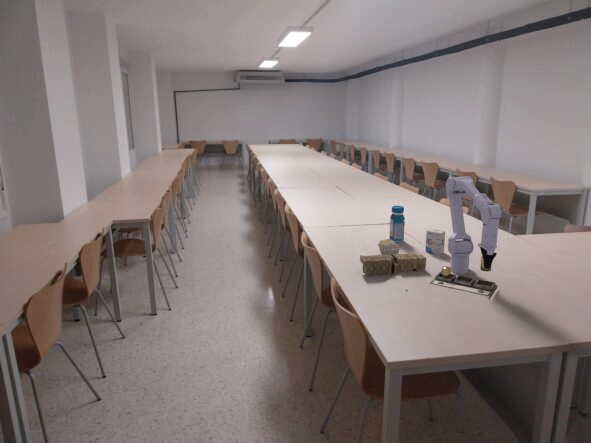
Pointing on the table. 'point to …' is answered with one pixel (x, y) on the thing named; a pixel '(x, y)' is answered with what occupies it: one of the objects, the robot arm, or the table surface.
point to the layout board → (466, 284)
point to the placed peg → (446, 272)
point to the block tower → (392, 264)
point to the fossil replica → (388, 247)
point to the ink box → (435, 241)
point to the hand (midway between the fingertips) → (486, 266)
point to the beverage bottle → (397, 224)
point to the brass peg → (483, 266)
